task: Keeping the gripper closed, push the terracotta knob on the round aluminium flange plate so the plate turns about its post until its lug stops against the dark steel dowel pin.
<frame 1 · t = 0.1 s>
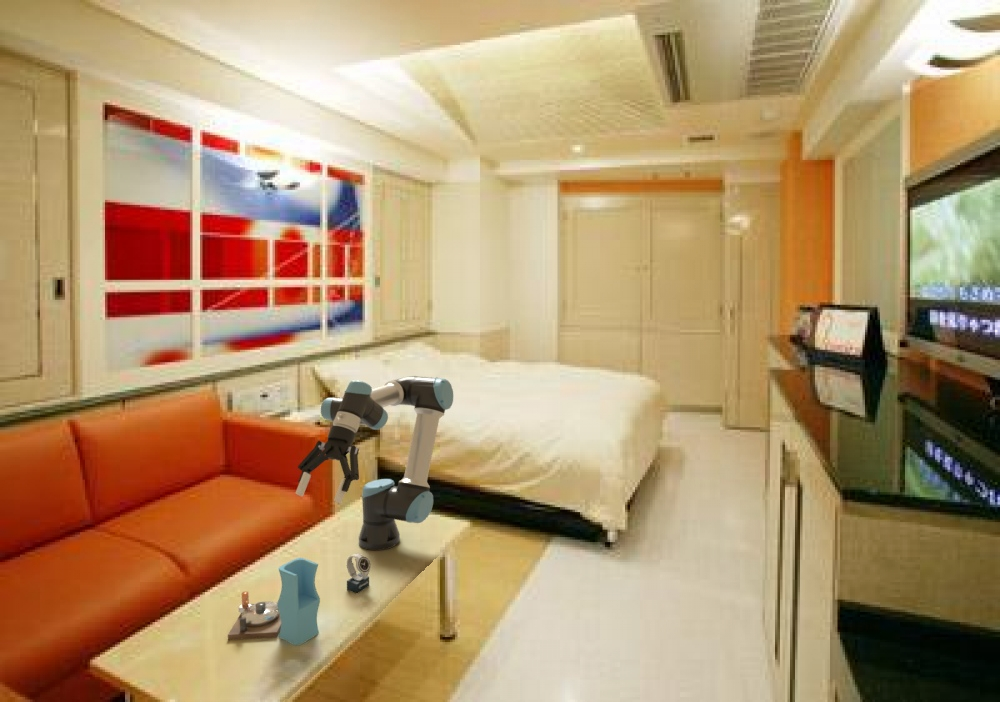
hand: (317, 498, 162), 36 cm above the table, tool tilted 35°, fingers open, 13 cm apart
vase: (300, 635, 157), on the table
watch: (358, 588, 182), on the table
base board: (261, 622, 163), on the table
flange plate: (257, 605, 163), point 5 cm above the table, hinge at 0.0°
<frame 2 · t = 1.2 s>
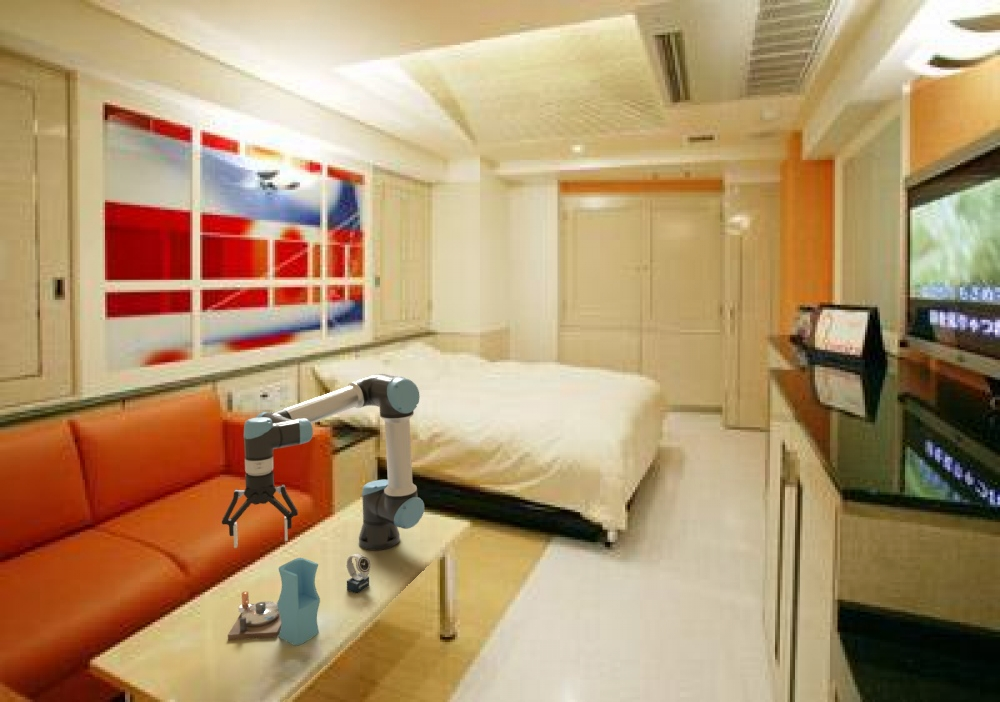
hand: (261, 542, 166), 21 cm above the table, tool pointing down, fingers open, 13 cm apart
nothing on the table moved.
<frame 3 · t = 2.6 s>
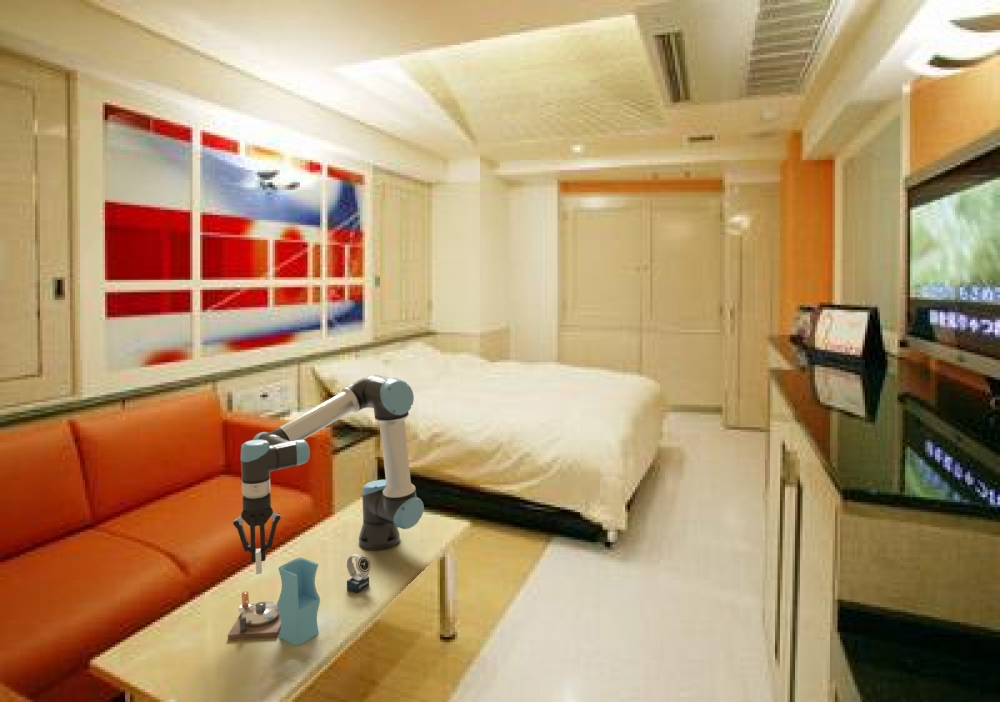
hand: (259, 571, 167), 13 cm above the table, tool pointing down, fingers closed
nothing on the table moved.
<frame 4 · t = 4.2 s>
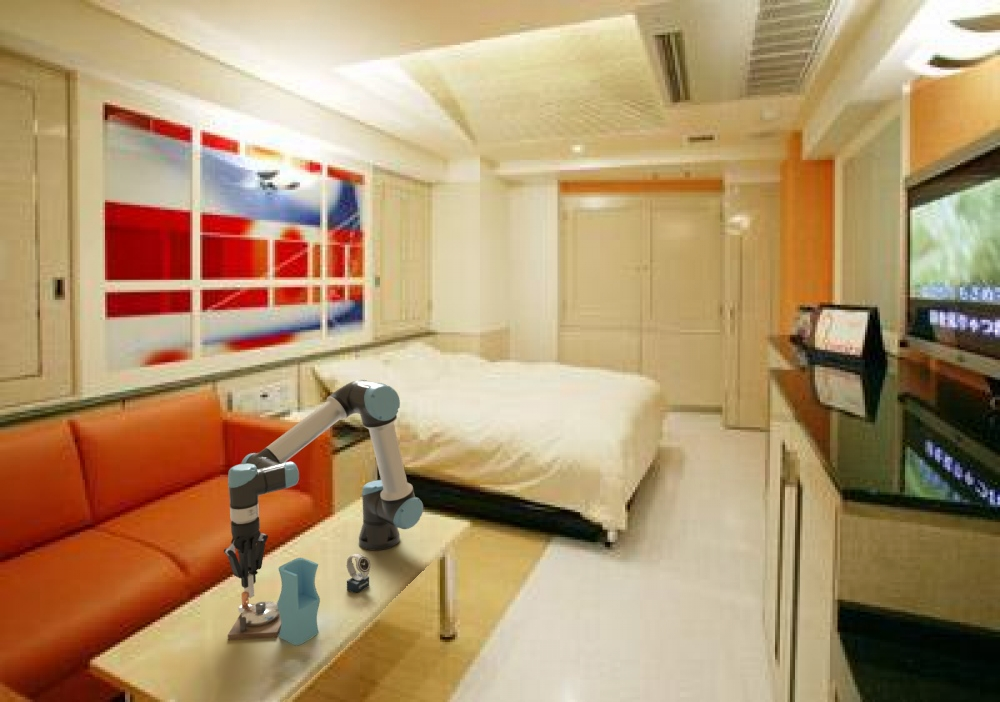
hand: (249, 595, 166), 6 cm above the table, tool pointing down, fingers closed
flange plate: (257, 605, 163), point 5 cm above the table, hinge at 0.4°, touching gripper
everything else where it was.
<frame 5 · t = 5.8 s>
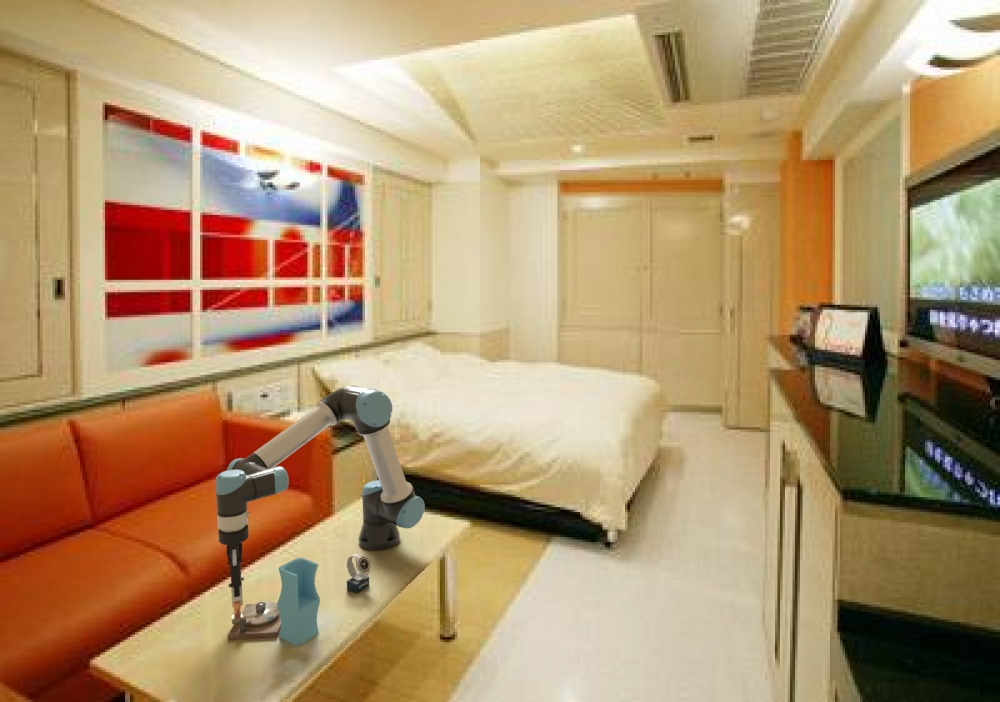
hand: (237, 605, 161), 6 cm above the table, tool pointing down, fingers closed
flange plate: (255, 607, 162), point 5 cm above the table, hinge at 49.1°, touching gripper
everything else where it was.
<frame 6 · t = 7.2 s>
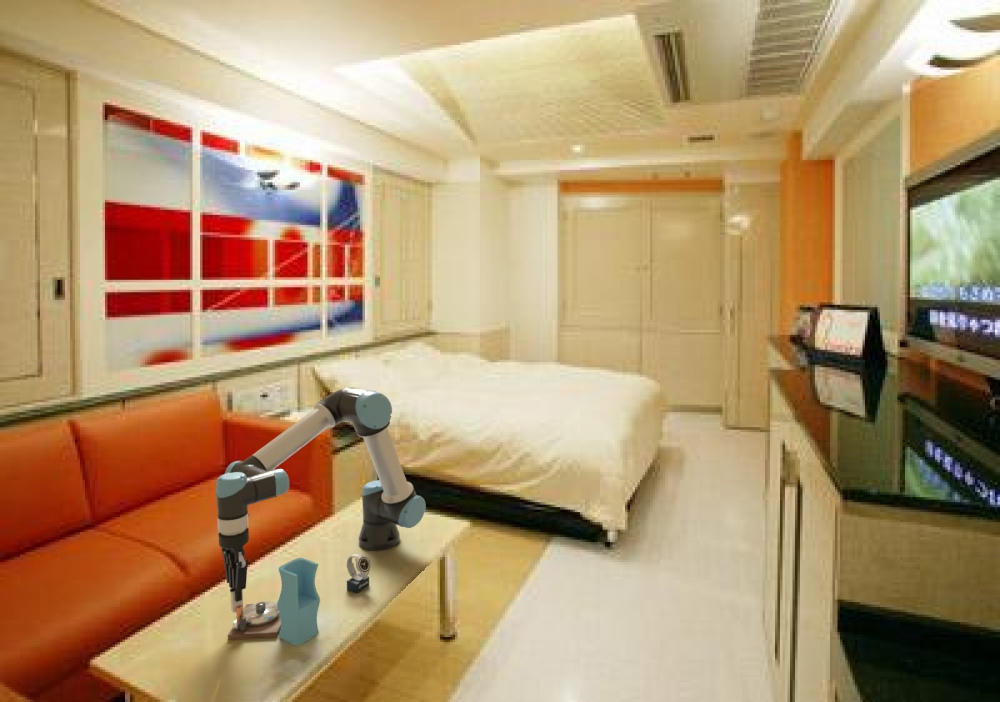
hand: (237, 609, 159), 6 cm above the table, tool pointing down, fingers closed
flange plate: (256, 608, 161), point 5 cm above the table, hinge at 75.2°, touching base board, gripper
everything else where it was.
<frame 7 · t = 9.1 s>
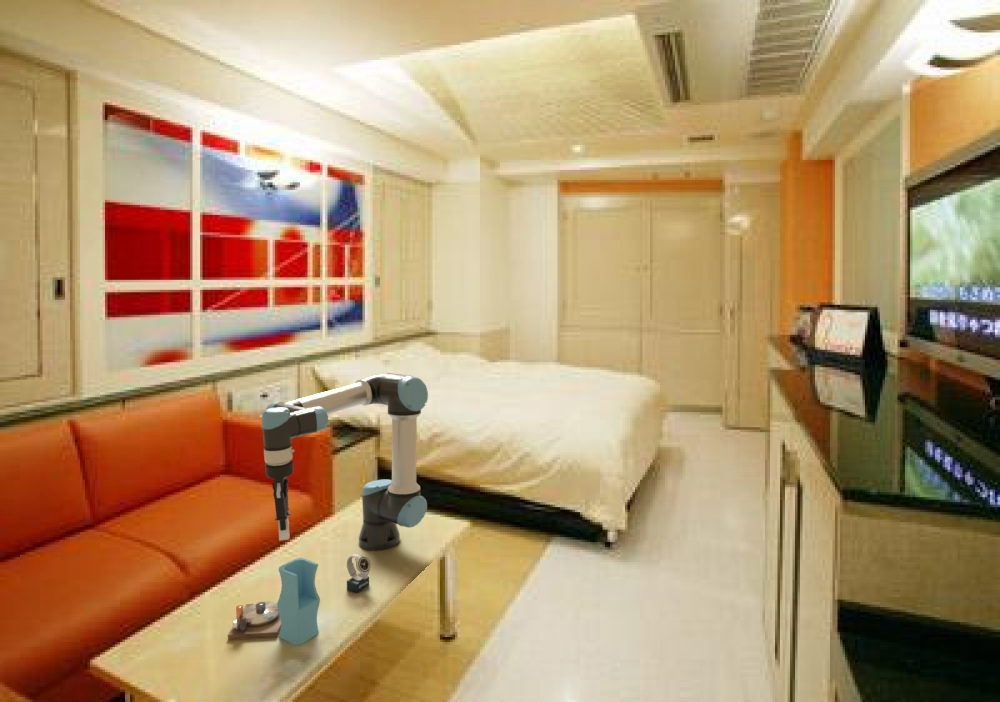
hand: (284, 538, 167), 22 cm above the table, tool pointing down, fingers closed
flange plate: (256, 608, 161), point 5 cm above the table, hinge at 75.2°, touching base board
everything else where it was.
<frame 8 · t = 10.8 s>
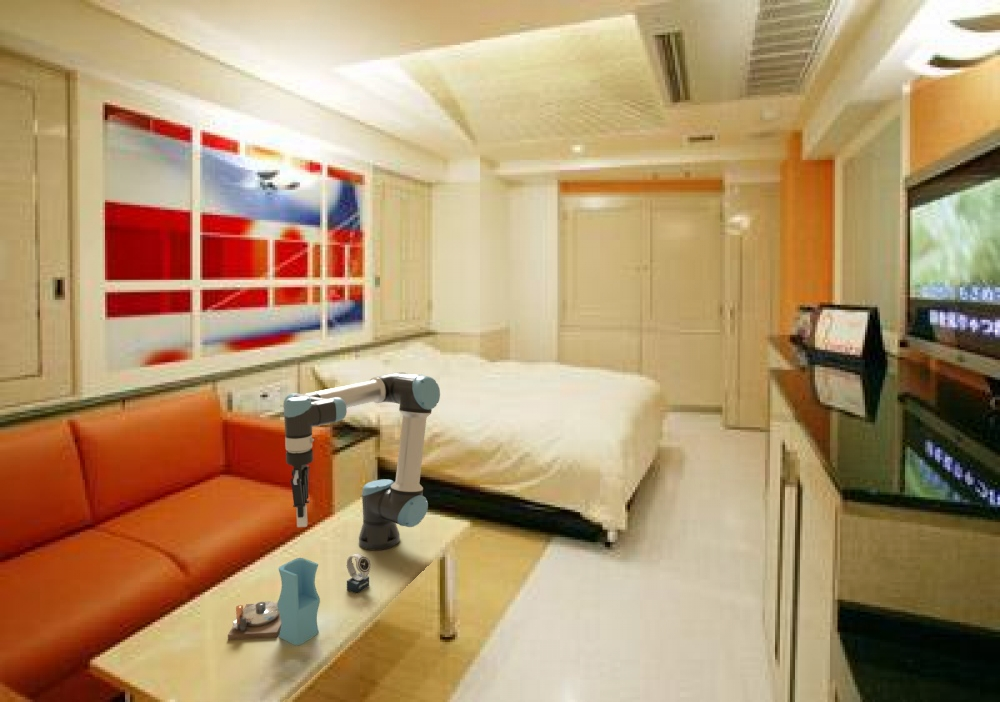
hand: (302, 525, 170), 24 cm above the table, tool pointing down, fingers closed
nothing on the table moved.
at the end: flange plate at +75° (first picture: +0°); vase moved 0.2 cm from its start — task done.
